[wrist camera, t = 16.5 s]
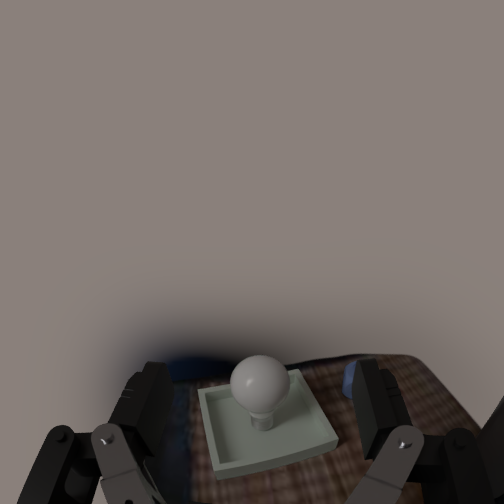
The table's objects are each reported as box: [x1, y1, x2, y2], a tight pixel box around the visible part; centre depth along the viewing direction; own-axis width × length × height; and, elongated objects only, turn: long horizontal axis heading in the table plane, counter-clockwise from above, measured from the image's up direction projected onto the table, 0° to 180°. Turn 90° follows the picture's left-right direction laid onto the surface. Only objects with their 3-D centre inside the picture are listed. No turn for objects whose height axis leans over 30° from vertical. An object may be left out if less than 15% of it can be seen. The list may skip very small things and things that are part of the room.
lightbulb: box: [230, 355, 290, 430], centre depth 31 cm, size 6×6×11 cm
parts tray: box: [198, 369, 339, 480], centre depth 33 cm, size 14×13×2 cm
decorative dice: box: [342, 361, 357, 399], centre depth 37 cm, size 4×4×4 cm
